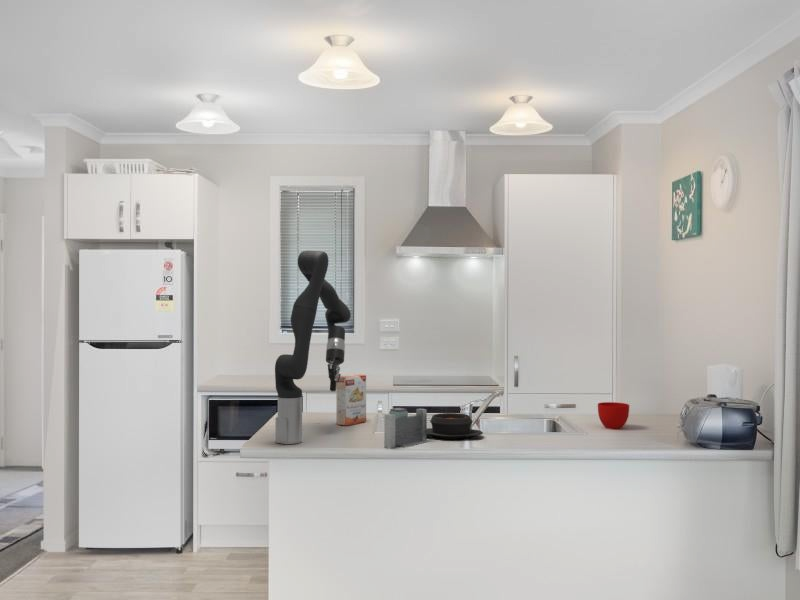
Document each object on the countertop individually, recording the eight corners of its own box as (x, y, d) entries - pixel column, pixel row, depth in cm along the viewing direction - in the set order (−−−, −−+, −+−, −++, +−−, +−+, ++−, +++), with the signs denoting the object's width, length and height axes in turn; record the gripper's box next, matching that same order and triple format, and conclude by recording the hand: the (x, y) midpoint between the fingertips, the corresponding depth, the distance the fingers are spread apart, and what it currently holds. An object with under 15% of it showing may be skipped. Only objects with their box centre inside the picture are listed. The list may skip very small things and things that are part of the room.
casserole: (483, 433, 309) (483, 413, 309) (481, 442, 291) (481, 420, 291) (422, 431, 313) (422, 411, 313) (416, 440, 295) (416, 418, 295)
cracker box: (346, 426, 325) (345, 377, 325) (336, 425, 328) (335, 376, 329) (367, 421, 336) (366, 374, 336) (357, 420, 340) (356, 373, 340)
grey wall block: (395, 449, 277) (395, 416, 277) (384, 447, 280) (384, 414, 280) (431, 441, 292) (431, 409, 292) (420, 439, 296) (420, 408, 296)
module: (398, 444, 286) (399, 410, 286) (389, 442, 289) (389, 409, 289) (407, 442, 290) (407, 408, 290) (397, 440, 293) (397, 407, 293)
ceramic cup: (624, 424, 333) (624, 401, 333) (632, 430, 317) (632, 406, 317) (593, 423, 335) (594, 400, 335) (600, 430, 318) (600, 406, 318)
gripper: (330, 357, 320) (327, 396, 313) (322, 345, 309) (319, 385, 301) (347, 356, 319) (345, 396, 312) (340, 344, 308) (338, 384, 300)
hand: (332, 390), depth 306 cm, fingers closed
